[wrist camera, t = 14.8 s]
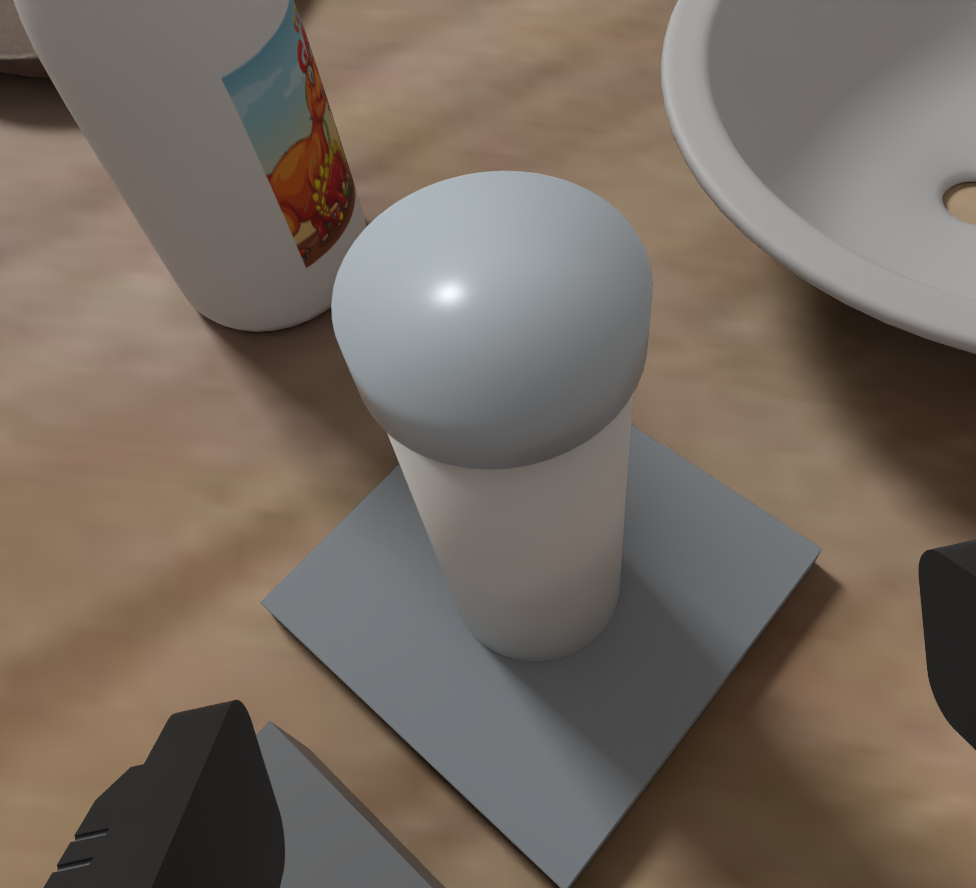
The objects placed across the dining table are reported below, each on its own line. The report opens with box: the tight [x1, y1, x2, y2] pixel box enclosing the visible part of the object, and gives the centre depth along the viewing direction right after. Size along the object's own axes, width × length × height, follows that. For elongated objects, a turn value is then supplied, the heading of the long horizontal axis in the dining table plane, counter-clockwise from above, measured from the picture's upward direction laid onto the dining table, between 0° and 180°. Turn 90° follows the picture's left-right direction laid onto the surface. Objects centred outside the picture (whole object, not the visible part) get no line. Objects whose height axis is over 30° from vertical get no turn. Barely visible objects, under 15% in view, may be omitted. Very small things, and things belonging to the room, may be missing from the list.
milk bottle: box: [14, 0, 366, 332], centre depth 27 cm, size 8×8×20 cm
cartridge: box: [331, 171, 653, 662], centre depth 21 cm, size 5×5×14 cm
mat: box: [260, 425, 822, 888], centre depth 27 cm, size 12×12×1 cm
